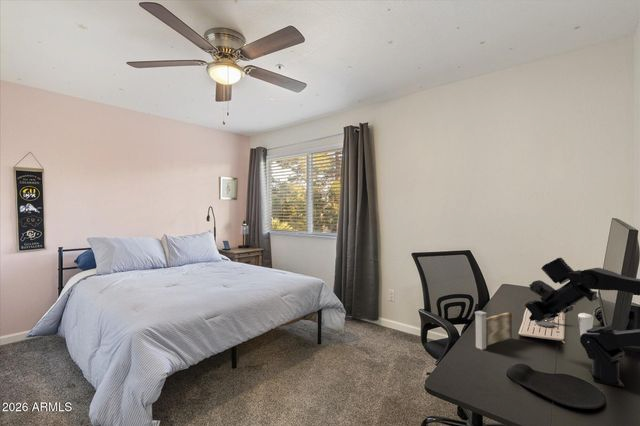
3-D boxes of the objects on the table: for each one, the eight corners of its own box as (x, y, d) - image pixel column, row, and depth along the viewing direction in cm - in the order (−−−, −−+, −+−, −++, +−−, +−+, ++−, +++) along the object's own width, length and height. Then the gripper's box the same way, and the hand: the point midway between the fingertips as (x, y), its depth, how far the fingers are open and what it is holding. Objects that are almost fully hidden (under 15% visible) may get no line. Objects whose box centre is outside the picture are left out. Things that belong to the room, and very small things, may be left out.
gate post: (482, 350, 109) (481, 314, 109) (474, 347, 112) (474, 311, 112) (487, 348, 110) (486, 312, 110) (479, 345, 113) (479, 310, 113)
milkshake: (599, 340, 116) (598, 313, 116) (582, 339, 118) (582, 312, 117) (591, 335, 121) (591, 309, 121) (575, 334, 122) (575, 309, 122)
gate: (485, 345, 111) (485, 319, 111) (482, 344, 112) (481, 318, 112) (512, 337, 118) (511, 312, 118) (508, 336, 120) (508, 311, 120)
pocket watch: (539, 327, 130) (539, 303, 130) (530, 320, 138) (530, 298, 138) (561, 328, 128) (561, 304, 128) (551, 321, 136) (551, 299, 136)
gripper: (562, 271, 107) (528, 295, 117) (531, 277, 98) (498, 302, 108) (590, 300, 100) (552, 322, 110) (559, 308, 91) (521, 332, 101)
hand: (530, 319), depth 108 cm, fingers closed
